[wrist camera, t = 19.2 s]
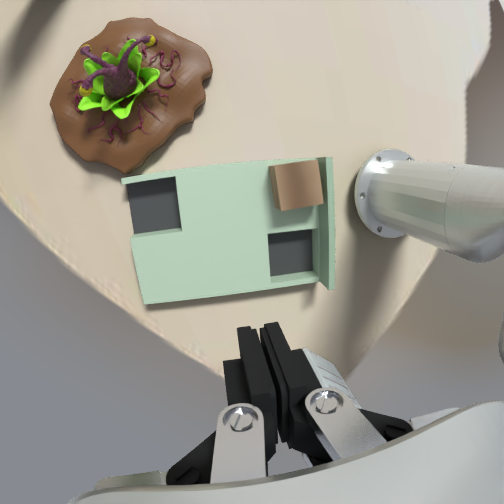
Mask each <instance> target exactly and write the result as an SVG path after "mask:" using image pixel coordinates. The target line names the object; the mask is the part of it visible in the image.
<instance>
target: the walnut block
mask: <svg viewBox="0 0 504 504" xmlns="http://www.w3.org/2000/svg"><path fill="white" fill-rule="evenodd" d="M269 172H270V179H271V185H272V191H273V197H274V204H275V208H277V209H278V210H280V211H285V210H291V209H296V208H302V207H308V206H313V205H319V204H324V203H323V195H322V187H321V179H320V172H319V165H318V160H307V161H299V162H292V163H285V164H278V165H272V166H269Z"/></svg>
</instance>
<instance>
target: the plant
mask: <svg viewBox="0 0 504 504" xmlns="http://www.w3.org/2000/svg"><path fill="white" fill-rule="evenodd" d="M212 73H213V69H212V65H211V61H210V59H209V56H208V55H207V53H206V51H205V50H204V49H203V48H202V47H200V46H199V45H197V44H195V43H193V42H191V41H189V40H187V39H185V38H182V37H180V36H178V35H176V34H174V33H172V32H171V31H169V30H167V29H165V28H163V27H161V26H159V25H157V24H156V23H155V22H154V21H153V20H152V19H150V18H145V19H141V18H126V19H123V20H118V21H110V22H109V23H108V24H107V26H106V27H105V29H104V30H103V31H102V32H101V33H100V34H99V35H97V36H96V37H94V38H93V39H91V40H89V41H87V42H85V43H83V44H82V45H81V47H80V48H79V49H78V50H77V52H76V54H75V56H74V58H73V59H72V61H71V62H70V64H69V66H68V67H67V69H66V70H65V72H64V73H63V75H62V77H61V79H60V80H59V82H58V84H57V86H56V88H55V90H54V93H53V96H52V98H51V101H50V107H51V109H52V111H53V114H54V116H55V119H56V123H57V128H58V131H59V133H60V135H61V137H62V139H63V140H64V142H65V143H66V144H67V145H68V146H69V147H70V148H72V149H73V150H74V151H75V152H76V153H77V154H78V155H79V156H80V157H81V158H82V159H84V160H85V161H87V162H102V163H105V164H107V165H109V166H111V167H114V168H116V169H117V170H119V171H121V172H122V173H124V174H129V173H131V172H132V171H133V170H135V169H137V168H138V167H140V166H141V165H143V163H144V162H145V161H146V159H147V158H148V157H149V156H150V154H151V153H153V152H154V151H155V150H157V149H158V148H160V147H161V146H163V145H164V144H165V142H166V141H167V140H168V139H169V137H170V136H171V135H172V134H173V133H174V132H175V131H176V129H177V128H179V127H180V126H182V125H184V124H187V123H191V122H193V121H194V113H195V111H196V110H197V109H198V108H199V107H200V106H201V105H203V104H204V103H205V101H206V94H205V90H204V88H203V85H202V83H203V81H205V80H206V79H208V78H210V77H211V76H212Z"/></svg>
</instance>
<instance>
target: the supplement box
mask: <svg viewBox="0 0 504 504" xmlns="http://www.w3.org/2000/svg"><path fill="white" fill-rule="evenodd" d="M302 350H303V351H304V353H305V355H306V357H307V359H308V361H309V363H310V365H311V366H312V368H313V370H314V372H315V374H316V376H317V378H318V380H319V382H320V384H321V386H322V388H327V387H330V388H335V389H338V390H340V391H342V392H343V393H344V394H345V395H346V396H347V397H348V398H349V399H350V400H351V401H352V403H353V404H354V405H355V406H356V407H357V408H359V409H362V408H361V406H360V405H359V403H358V402H357V400H356V398H355V397H354V395H353V394H352V392H351V391H350V389H349V388H348V386H347V385H346V383H345V381H344V380H343V378H342V377H341V375H340V374H339V372H338V370H337V369H336V367H335V366H334V364H333V363H331V362H330V361H328V360H326V359H324V358H322V357H321V356H319V355H317V354H315V353H314V352H312V351H310V350H308V349H306V348H305V347H304V348H303V349H302Z"/></svg>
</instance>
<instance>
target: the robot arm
mask: <svg viewBox="0 0 504 504" xmlns="http://www.w3.org/2000/svg"><path fill="white" fill-rule="evenodd" d="M360 194H361V196H360ZM355 204H356V208H357V212H358V215H359V216H360V218H361V220H362V222H363V223H364V225H365V226H366V227H367V228H368V229H369V230H370V231H372V232H373V233H375V234H377V235H379V236H382V237H385V238H396V237H400V236H402V235H404V234H407V235H409V236H412V237H414V238H417V239H419V240H421V241H424V242H426V243H429V244H431V245H433V246H436V247H438V248H440V249H443V250H445V251H447V252H449V253H452V254H454V255H456V256H459V257H461V258H463V259H466V260H468V261H471V262H475V263H486V262H489V261H492V260H494V259H496V258H498V257H500V256H501V255H503V254H504V168H498V167H488V166H478V165H468V164H457V163H445V162H430V161H415V160H414V158H413V157H412V156H410V155H409V154H407V153H406V152H404V151H401V150H397V149H385V150H380V151H378V152H376V153H374V154H373V155H371V156H370V157H369V158H368V159H367V160H366V161H365V162H364V164H363V165H362V167H361V169H360V170H359V173H358V176H357V179H356V183H355ZM237 333H238V341H239V349H240V357H241V359H234V360H226V361H223V366H224V375H225V384H226V392H227V400H228V407H226V408H225V409H223V411H222V412H221V413H220V414H219V417H218V422H217V429H216V431H215V432H214V433H213V434H211V435H210V436H209V437H208V438H207V439H205V440H204V441H203V442H202V443H201V444H199V446H197V447H196V448H195V449H194V450H192V451H191V452H190V453H189V454H187V455H186V456H185V457H184V458H182V459H181V460H180V461H179V462H177V463H176V464H175V465H173V466H172V467H171V469H169V471H167V472H162V473H160V472H159V471H152V472H146V473H140V474H133V475H124V476H115V477H107V478H104V479H102V480H100V481H98V482H97V484H96V485H95V487H94V490H92V491H88V492H85V493H82V494H80V495H77V496H75V497H74V498H72V499H71V500H70V501H69V502H68V504H504V402H503V401H485V402H480V403H476V404H472V405H469V406H466V407H463V408H456V407H455V408H449V409H445V410H441V411H438V412H434V413H430V414H427V415H422V416H418V417H414V418H411V419H410V420H409V421H408V422H406V421H404V420H402V419H398V418H394V417H390V416H386V415H382V414H378V413H374V412H370V411H367V410H363V409H359V408H357V407H356V406H355V405H354V404H353V403H352V401H351V400H350V399H349V398H348V397H347V396H346V395H345V394H344V393H343V392H342V391H340V390H338V389H335V388H330V387H327V388H322V386H321V384H320V382H319V380H318V378H317V376H316V374H315V372H314V370H313V368H312V366H311V365H310V363H309V361H308V359H307V357H306V355H305V353H304V351H303V350H302V349H297V350H291V349H290V347H289V345H288V343H287V341H286V339H285V336H284V334H283V332H282V330H281V328H280V326H279V323H278V322H274V323H267V324H264V328H260V340H259V337H258V334H257V330H256V329H251V327H250V326H247V327H239V328H237ZM260 341H261V343H260ZM498 348H499V354H500V357H501V359H502V362H503V363H504V312H503V318H502V322H501V326H500V331H499V339H498ZM277 428H278V431H279V435H280V438H281V442H282V443H284V442H287V444H288V447H289V449H291V448H293V449H295V450H297V451H300V452H302V456H303V459H304V461H305V462H306V464H307V466H308V467H309V468H306V469H302V470H298V471H294V472H289V473H284V474H279V475H274V476H268V463H267V462H268V461H269V460H270V459H271V457H272V456H273V455H274V454H275V453H276V445H275V444H277V443H278V432H277Z"/></svg>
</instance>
